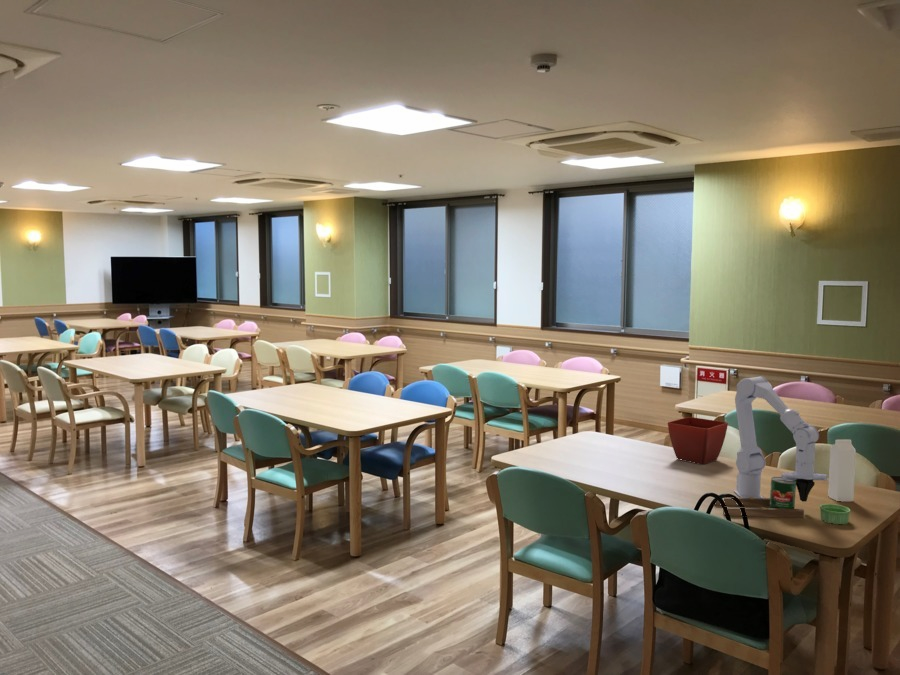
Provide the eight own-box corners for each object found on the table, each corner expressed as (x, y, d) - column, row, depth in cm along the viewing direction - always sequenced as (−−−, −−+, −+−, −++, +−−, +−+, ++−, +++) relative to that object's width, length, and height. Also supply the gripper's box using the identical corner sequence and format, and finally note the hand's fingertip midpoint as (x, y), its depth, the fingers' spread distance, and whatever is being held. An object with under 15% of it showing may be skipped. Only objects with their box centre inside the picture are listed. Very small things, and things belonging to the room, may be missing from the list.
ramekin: (837, 515, 244) (838, 503, 244) (856, 524, 235) (856, 511, 235) (813, 517, 243) (813, 504, 242) (831, 526, 234) (832, 513, 233)
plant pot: (665, 459, 318) (666, 421, 316) (687, 452, 330) (689, 416, 329) (705, 468, 303) (707, 428, 302) (727, 460, 316) (729, 422, 315)
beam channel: (713, 504, 256) (713, 496, 256) (788, 505, 254) (788, 497, 254) (724, 515, 243) (724, 507, 243) (803, 517, 242) (804, 509, 241)
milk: (853, 501, 259) (857, 441, 257) (837, 501, 259) (840, 441, 257) (843, 496, 265) (846, 437, 263) (827, 496, 265) (830, 437, 263)
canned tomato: (787, 507, 252) (789, 477, 251) (798, 515, 244) (800, 483, 243) (765, 507, 252) (767, 476, 251) (775, 514, 244) (777, 482, 243)
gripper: (787, 464, 243) (786, 503, 244) (832, 465, 242) (830, 504, 243) (779, 459, 250) (778, 497, 251) (822, 459, 249) (820, 498, 250)
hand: (803, 500), depth 247 cm, fingers closed
